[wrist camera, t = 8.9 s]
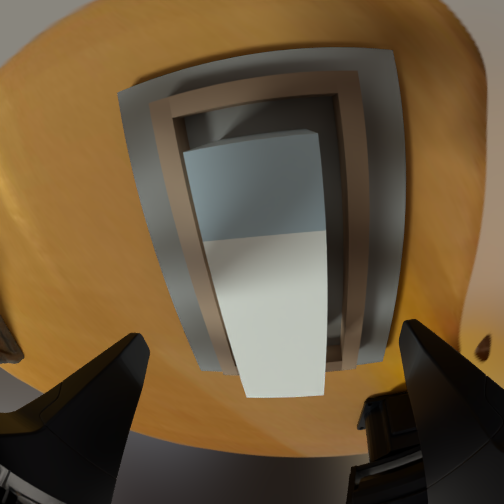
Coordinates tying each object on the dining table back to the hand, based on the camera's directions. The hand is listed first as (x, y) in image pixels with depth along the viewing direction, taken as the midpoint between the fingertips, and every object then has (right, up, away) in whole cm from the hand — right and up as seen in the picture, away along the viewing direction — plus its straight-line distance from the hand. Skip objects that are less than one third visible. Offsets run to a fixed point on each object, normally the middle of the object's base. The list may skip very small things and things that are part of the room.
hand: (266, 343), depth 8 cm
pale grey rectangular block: (+1, +3, +6) cm, 7 cm away
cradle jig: (+1, +3, +7) cm, 8 cm away
